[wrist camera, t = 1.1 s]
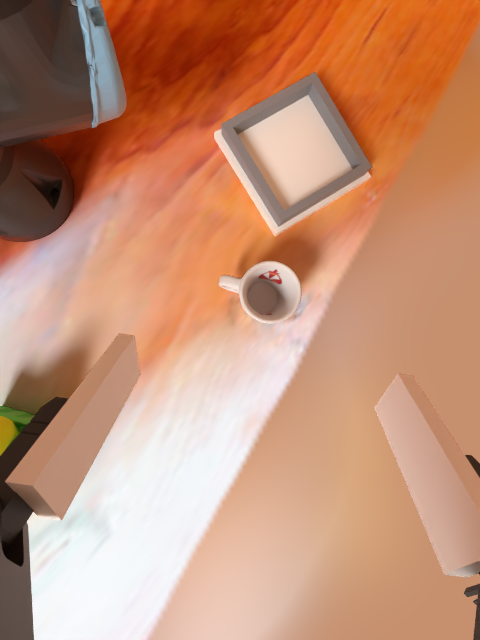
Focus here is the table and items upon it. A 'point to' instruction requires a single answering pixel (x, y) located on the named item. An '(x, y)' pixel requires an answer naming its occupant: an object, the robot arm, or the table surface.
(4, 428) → the fruit basket
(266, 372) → the table surface
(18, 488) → the robot arm
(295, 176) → the gray rimmed square tray
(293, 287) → the cup
